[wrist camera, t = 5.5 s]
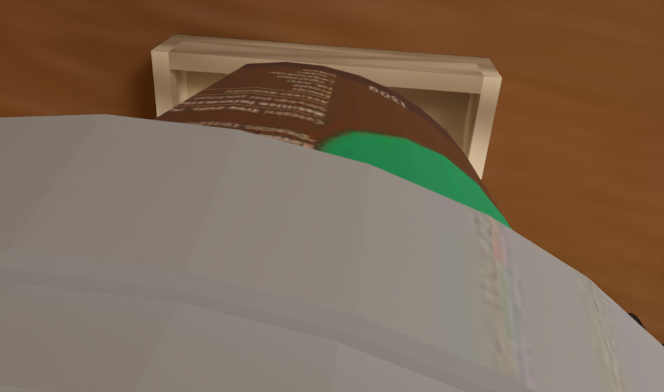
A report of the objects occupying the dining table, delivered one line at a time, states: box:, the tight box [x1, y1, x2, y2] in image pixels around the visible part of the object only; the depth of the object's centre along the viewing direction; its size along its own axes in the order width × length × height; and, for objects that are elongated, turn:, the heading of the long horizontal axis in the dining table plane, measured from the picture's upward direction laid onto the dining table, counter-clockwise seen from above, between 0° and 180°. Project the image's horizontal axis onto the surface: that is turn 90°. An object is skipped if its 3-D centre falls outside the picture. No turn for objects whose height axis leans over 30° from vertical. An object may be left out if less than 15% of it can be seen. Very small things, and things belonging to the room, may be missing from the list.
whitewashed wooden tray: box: [151, 34, 502, 179], centre depth 31 cm, size 16×16×4 cm
